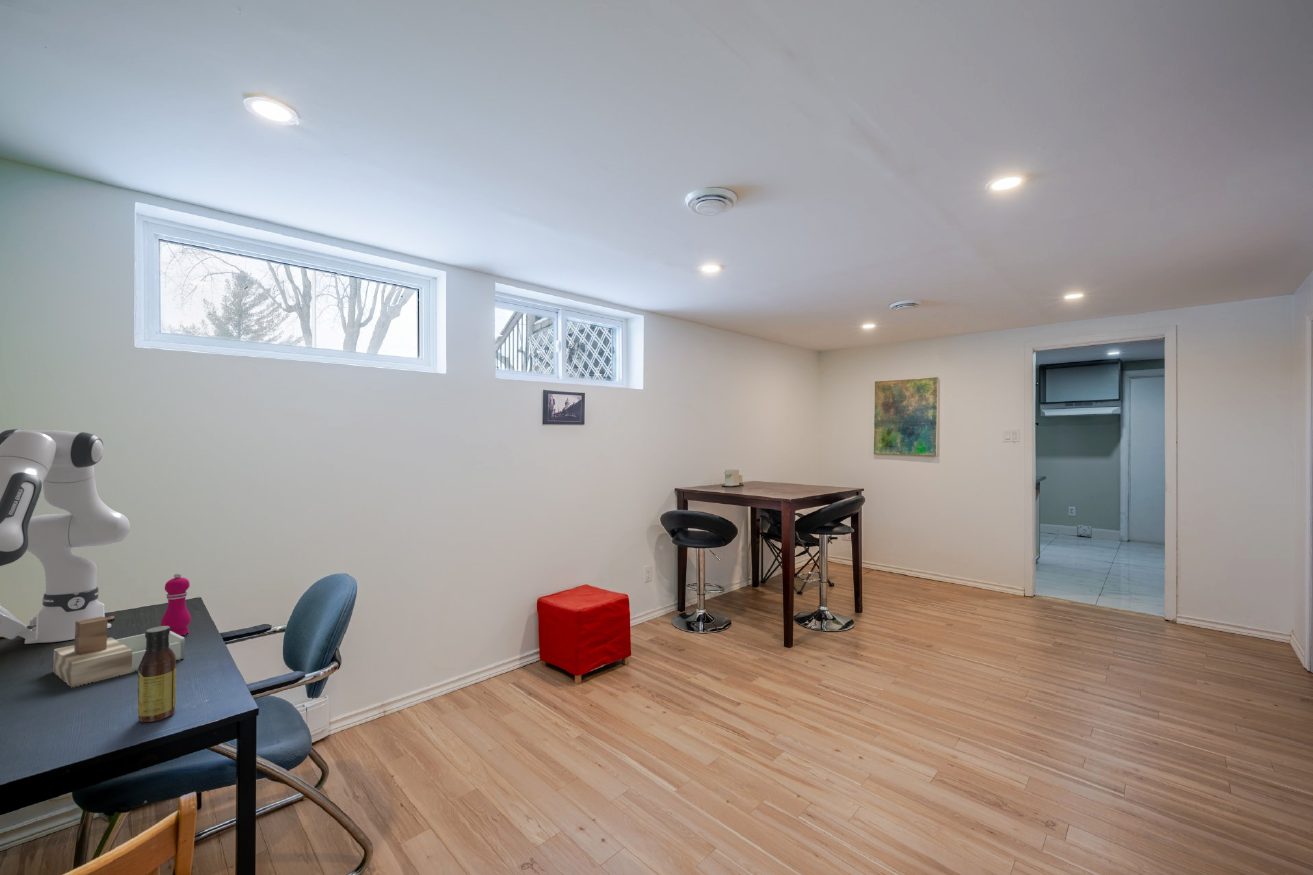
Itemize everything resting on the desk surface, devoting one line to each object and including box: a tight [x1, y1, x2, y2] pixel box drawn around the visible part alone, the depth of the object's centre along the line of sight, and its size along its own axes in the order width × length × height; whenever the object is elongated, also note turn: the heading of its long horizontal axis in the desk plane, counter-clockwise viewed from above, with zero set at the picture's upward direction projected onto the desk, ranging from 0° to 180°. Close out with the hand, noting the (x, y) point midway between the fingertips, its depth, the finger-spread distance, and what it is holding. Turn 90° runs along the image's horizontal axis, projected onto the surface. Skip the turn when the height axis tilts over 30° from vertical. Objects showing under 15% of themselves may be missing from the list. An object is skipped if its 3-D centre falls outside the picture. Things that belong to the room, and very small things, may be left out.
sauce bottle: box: [137, 625, 177, 723], centre depth 119 cm, size 7×6×20 cm
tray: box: [116, 631, 186, 673], centre depth 152 cm, size 18×11×6 cm, turn 58°
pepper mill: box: [160, 572, 192, 637], centre depth 171 cm, size 7×7×20 cm
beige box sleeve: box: [52, 636, 133, 689], centre depth 142 cm, size 18×11×6 cm, turn 58°
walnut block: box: [73, 616, 109, 655], centre depth 142 cm, size 5×5×8 cm
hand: (32, 636), depth 133 cm, fingers closed
